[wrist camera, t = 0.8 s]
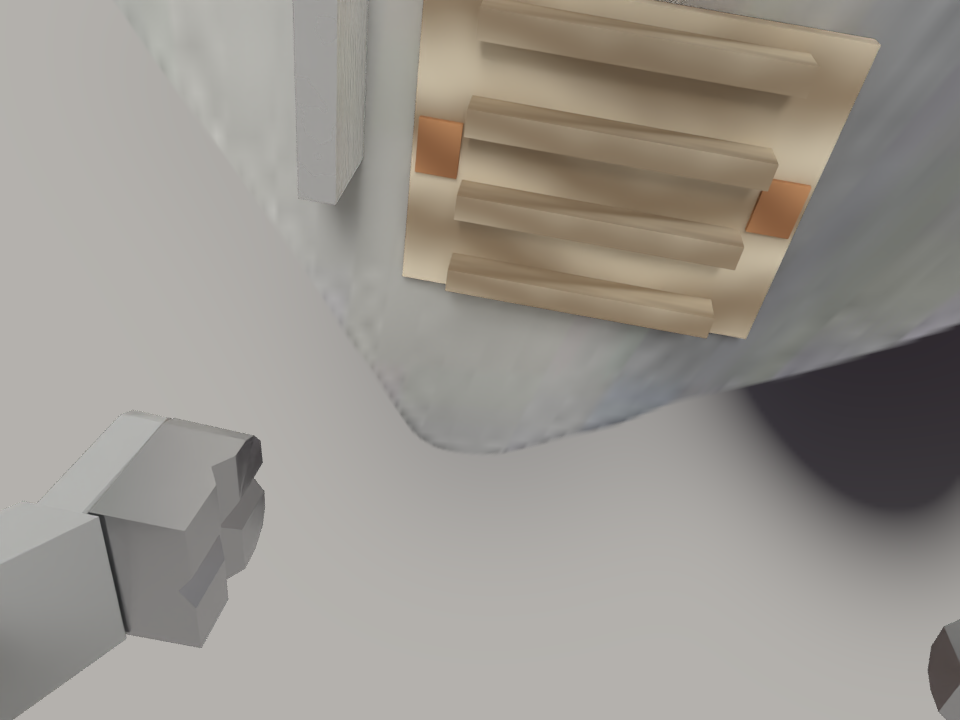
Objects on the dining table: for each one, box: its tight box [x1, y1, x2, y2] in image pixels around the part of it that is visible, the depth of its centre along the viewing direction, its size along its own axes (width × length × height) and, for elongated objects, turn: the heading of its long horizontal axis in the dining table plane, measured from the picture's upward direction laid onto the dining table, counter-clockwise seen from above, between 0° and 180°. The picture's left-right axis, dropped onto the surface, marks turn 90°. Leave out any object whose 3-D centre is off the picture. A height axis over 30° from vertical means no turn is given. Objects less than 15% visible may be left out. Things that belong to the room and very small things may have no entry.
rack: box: [402, 0, 881, 339], centre depth 41 cm, size 18×22×3 cm
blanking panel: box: [293, 0, 368, 205], centre depth 38 cm, size 12×2×6 cm, turn 172°
